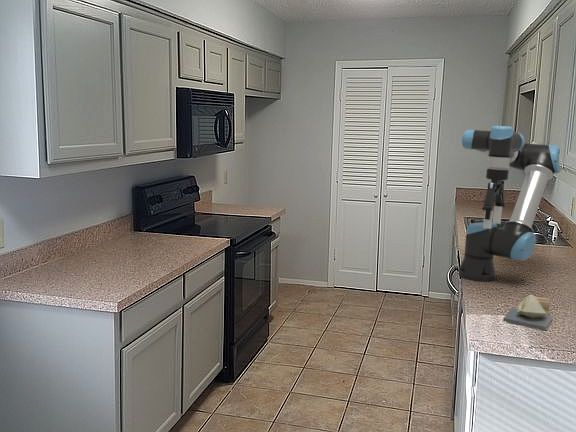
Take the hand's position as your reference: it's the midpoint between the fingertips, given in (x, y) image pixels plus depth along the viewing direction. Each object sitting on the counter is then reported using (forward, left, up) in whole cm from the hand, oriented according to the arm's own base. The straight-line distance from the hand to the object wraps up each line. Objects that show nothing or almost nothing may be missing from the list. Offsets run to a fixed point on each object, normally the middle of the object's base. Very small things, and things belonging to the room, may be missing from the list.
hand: (491, 225), depth 213 cm
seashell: (+20, +20, -26) cm, 38 cm away
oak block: (+9, +21, -27) cm, 35 cm away
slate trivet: (+20, +20, -27) cm, 39 cm away
